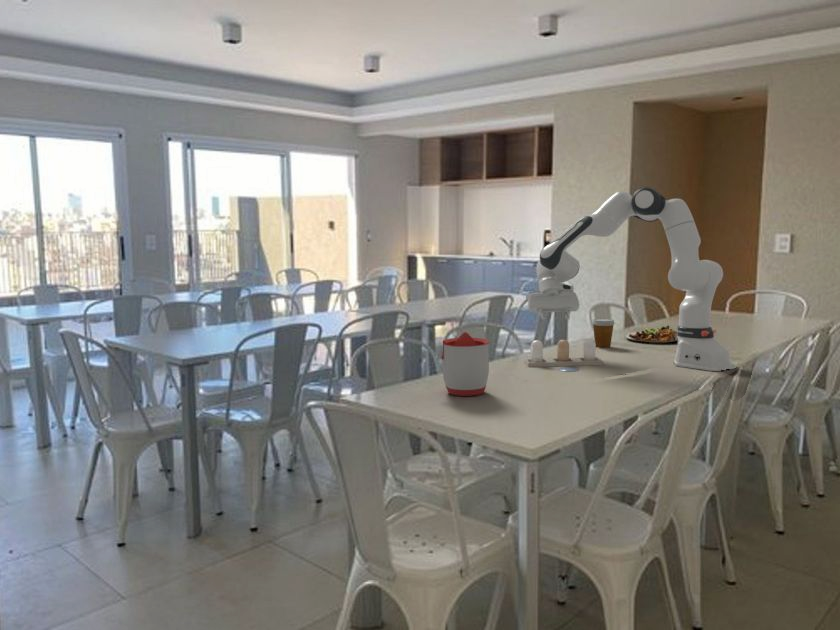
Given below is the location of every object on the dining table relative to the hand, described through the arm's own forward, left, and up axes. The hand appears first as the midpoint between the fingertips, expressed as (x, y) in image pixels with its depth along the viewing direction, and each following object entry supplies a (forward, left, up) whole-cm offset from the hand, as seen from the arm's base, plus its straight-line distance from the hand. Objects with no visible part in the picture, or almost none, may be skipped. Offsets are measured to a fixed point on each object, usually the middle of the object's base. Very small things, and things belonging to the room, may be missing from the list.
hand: (555, 318), depth 276 cm
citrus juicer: (-22, +60, -17) cm, 66 cm away
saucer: (-20, +12, -17) cm, 29 cm away
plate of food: (+9, -70, -17) cm, 72 cm away
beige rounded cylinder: (-11, +6, -15) cm, 20 cm away
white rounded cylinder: (-16, -2, -15) cm, 22 cm away
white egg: (-6, +15, -15) cm, 22 cm away
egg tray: (-11, +6, -17) cm, 21 cm away
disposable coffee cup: (+10, -37, -17) cm, 42 cm away
